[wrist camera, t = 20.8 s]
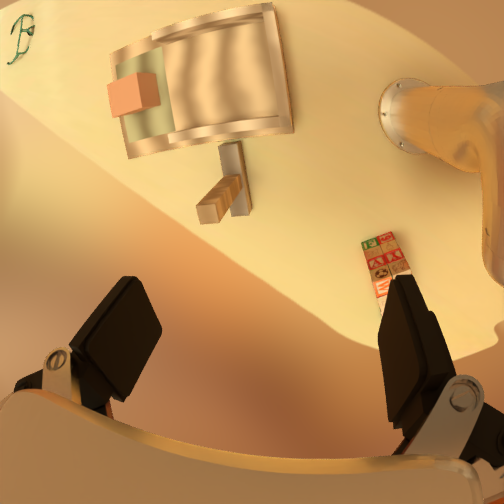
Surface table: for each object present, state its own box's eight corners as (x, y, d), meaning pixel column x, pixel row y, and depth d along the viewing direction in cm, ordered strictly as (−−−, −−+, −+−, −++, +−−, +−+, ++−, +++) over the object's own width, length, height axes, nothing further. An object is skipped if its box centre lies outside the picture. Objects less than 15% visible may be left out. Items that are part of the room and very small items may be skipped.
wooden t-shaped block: (241, 140, 41) (208, 162, 28) (252, 208, 47) (229, 257, 34) (223, 143, 42) (184, 166, 28) (235, 209, 48) (207, 258, 34)
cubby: (274, 7, 28) (270, -6, 23) (293, 132, 39) (292, 137, 34) (112, 54, 35) (92, 52, 29) (131, 157, 46) (113, 166, 41)
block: (155, 73, 36) (136, 72, 31) (160, 105, 39) (142, 107, 34) (127, 84, 37) (106, 84, 32) (132, 113, 40) (112, 118, 35)
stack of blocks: (408, 309, 53) (421, 351, 42) (383, 318, 55) (392, 361, 45) (390, 230, 44) (411, 269, 34) (359, 241, 47) (372, 283, 36)
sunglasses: (33, 51, 33) (17, 53, 29) (11, 68, 36) (-2, 71, 32) (39, 7, 26) (25, 7, 21) (16, 28, 29) (3, 29, 25)
